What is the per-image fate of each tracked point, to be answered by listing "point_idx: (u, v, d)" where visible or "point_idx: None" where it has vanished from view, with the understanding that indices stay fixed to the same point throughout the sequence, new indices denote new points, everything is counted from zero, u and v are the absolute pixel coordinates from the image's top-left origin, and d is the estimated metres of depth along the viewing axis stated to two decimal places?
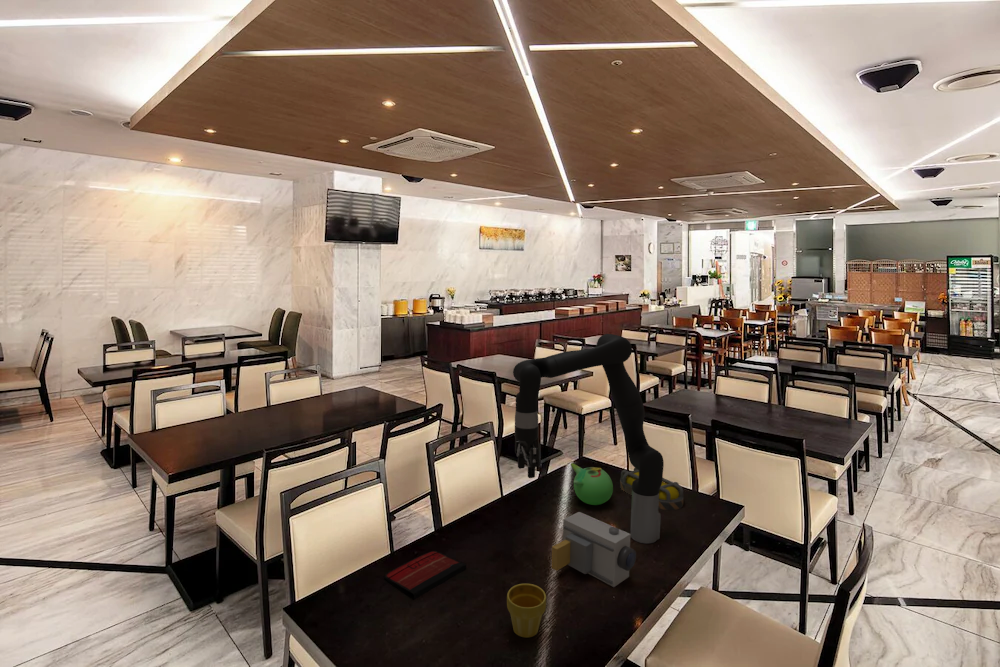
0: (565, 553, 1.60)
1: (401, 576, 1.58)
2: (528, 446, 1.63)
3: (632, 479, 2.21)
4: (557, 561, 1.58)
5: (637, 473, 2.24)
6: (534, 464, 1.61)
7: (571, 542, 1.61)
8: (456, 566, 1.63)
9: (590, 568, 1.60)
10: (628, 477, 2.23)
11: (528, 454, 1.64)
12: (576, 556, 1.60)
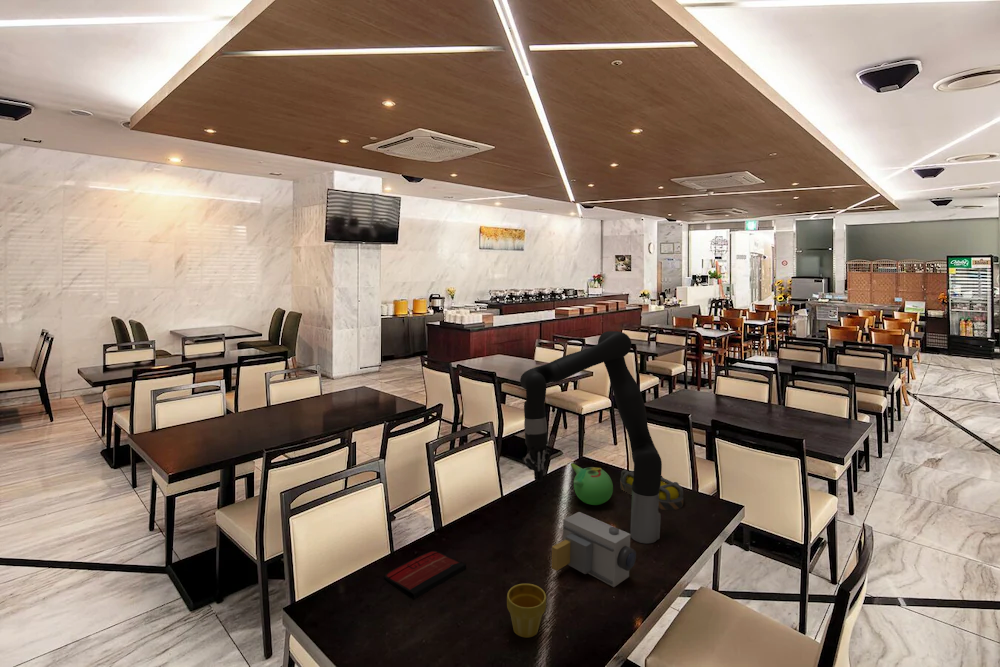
0: (565, 553, 1.60)
1: (401, 576, 1.58)
2: (546, 447, 1.75)
3: (632, 479, 2.21)
4: (557, 561, 1.58)
5: None
6: None
7: (571, 542, 1.61)
8: (456, 566, 1.63)
9: (590, 568, 1.60)
10: (628, 477, 2.23)
11: None
12: (576, 556, 1.60)
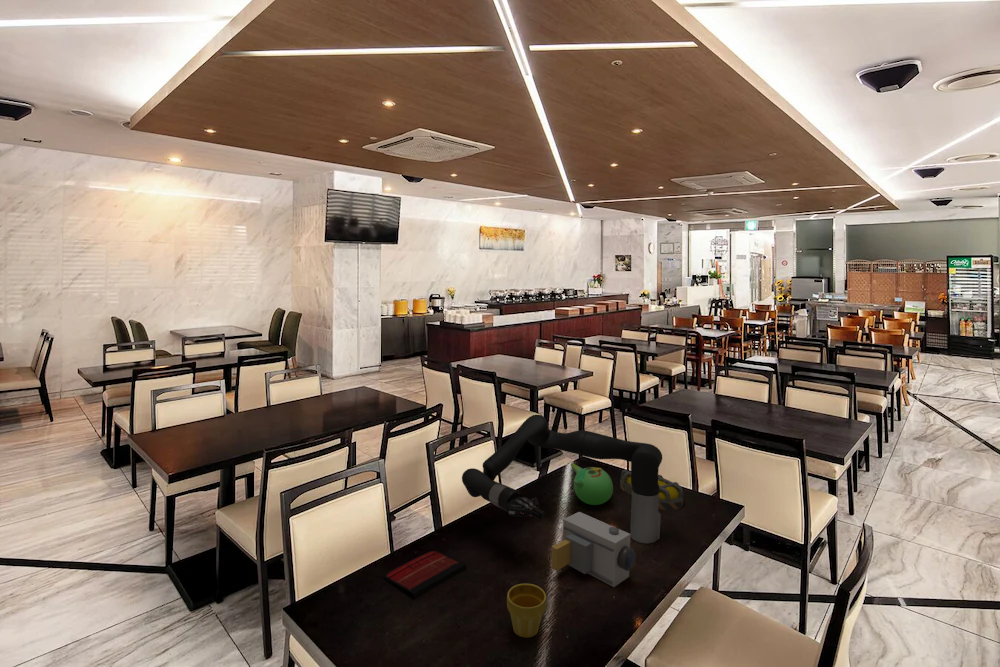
0: (565, 553, 1.60)
1: (401, 576, 1.58)
2: (527, 498, 1.73)
3: None
4: (557, 561, 1.58)
5: None
6: None
7: (571, 542, 1.61)
8: (456, 566, 1.63)
9: (590, 568, 1.60)
10: (628, 477, 2.23)
11: None
12: (576, 556, 1.60)
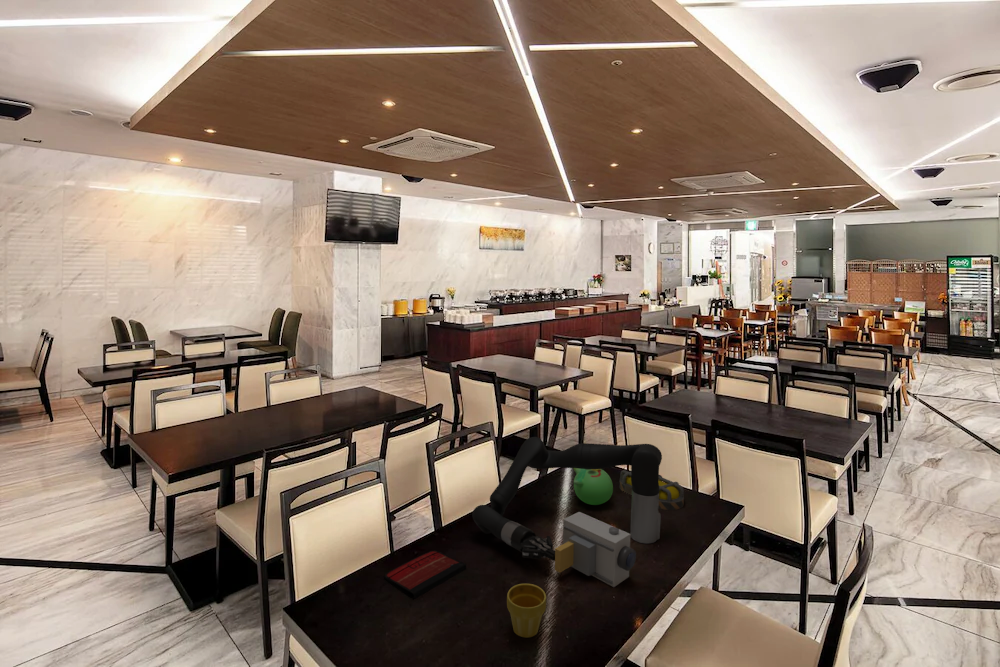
0: (569, 555, 1.59)
1: (401, 576, 1.58)
2: (540, 537, 1.69)
3: None
4: (560, 563, 1.57)
5: None
6: None
7: (574, 544, 1.60)
8: (456, 566, 1.63)
9: (593, 570, 1.59)
10: (628, 477, 2.23)
11: None
12: (579, 558, 1.59)
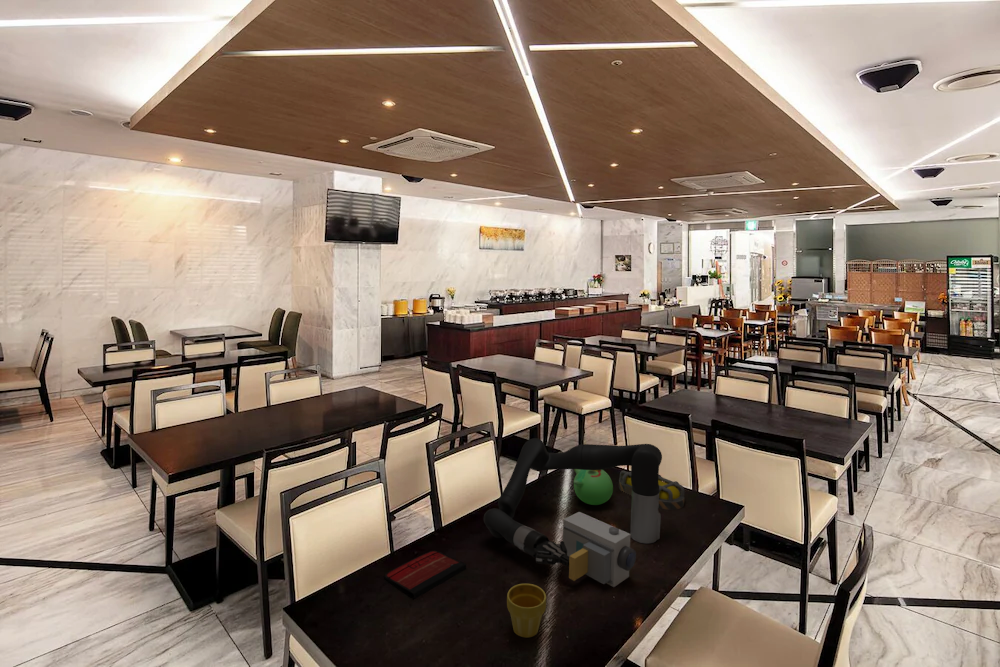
0: (583, 563, 1.55)
1: (401, 576, 1.58)
2: (554, 542, 1.65)
3: None
4: (575, 571, 1.53)
5: None
6: None
7: (589, 551, 1.56)
8: (456, 566, 1.63)
9: (609, 578, 1.55)
10: (627, 478, 2.23)
11: None
12: (594, 566, 1.55)
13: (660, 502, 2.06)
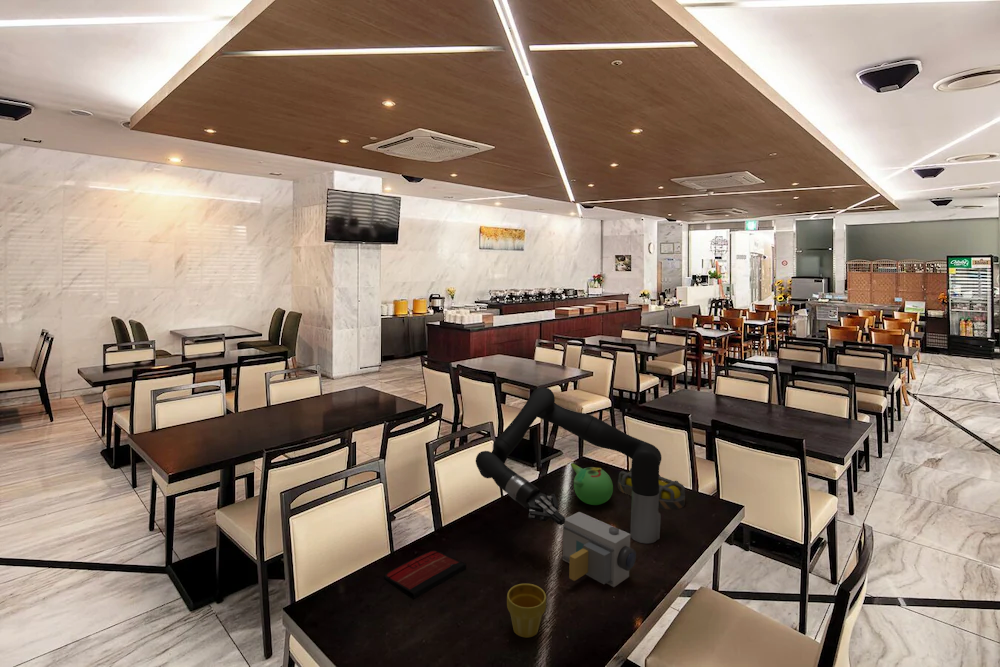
0: (583, 563, 1.55)
1: (401, 576, 1.58)
2: (545, 494, 1.70)
3: None
4: (575, 571, 1.53)
5: None
6: None
7: (589, 551, 1.56)
8: (456, 566, 1.63)
9: (609, 578, 1.55)
10: (627, 478, 2.22)
11: None
12: (594, 566, 1.55)
13: (662, 502, 2.06)
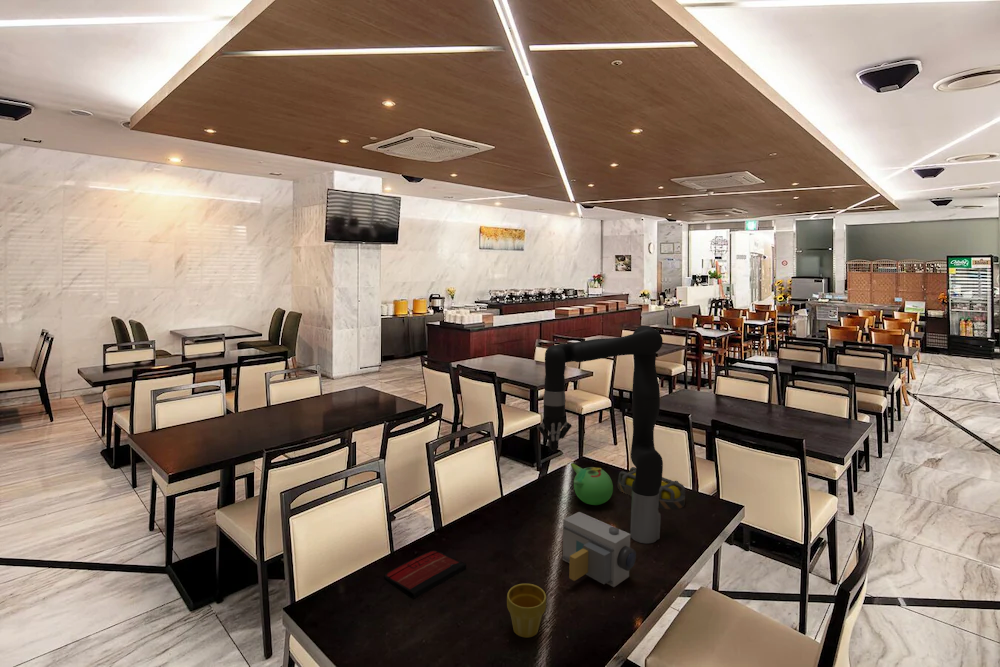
0: (583, 563, 1.55)
1: (401, 576, 1.59)
2: (565, 420, 1.82)
3: (632, 480, 2.20)
4: (575, 571, 1.53)
5: (635, 474, 2.23)
6: None
7: (589, 551, 1.56)
8: (456, 566, 1.63)
9: (609, 578, 1.55)
10: (627, 478, 2.22)
11: None
12: (594, 566, 1.55)
13: (662, 502, 2.06)
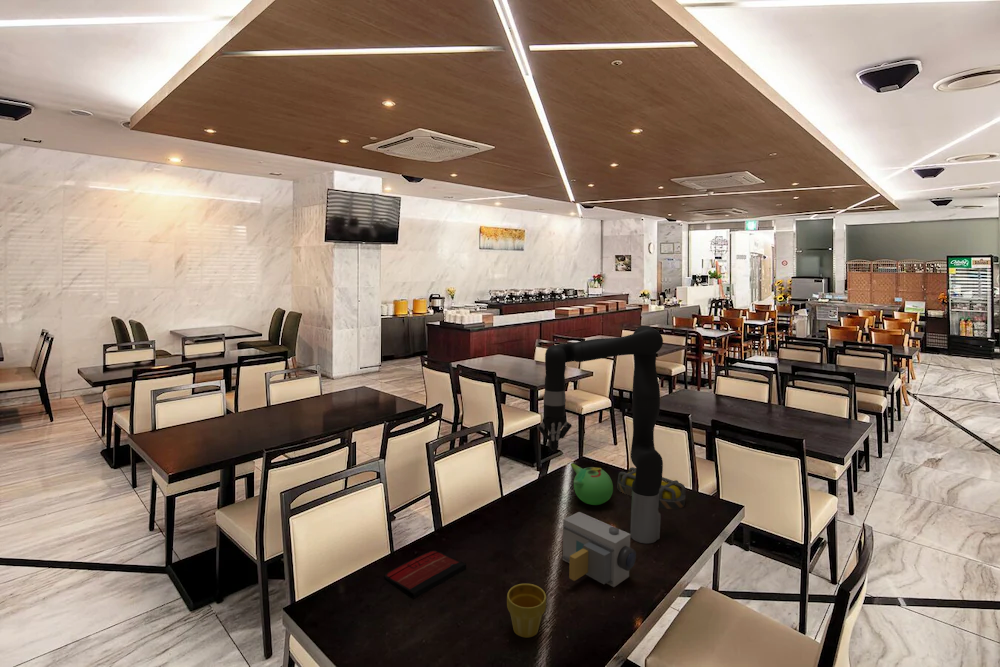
0: (583, 563, 1.55)
1: (401, 576, 1.59)
2: (565, 420, 1.82)
3: (632, 480, 2.20)
4: (575, 571, 1.53)
5: (635, 474, 2.23)
6: None
7: (589, 551, 1.56)
8: (456, 566, 1.63)
9: (609, 578, 1.55)
10: (627, 479, 2.22)
11: None
12: (594, 566, 1.55)
13: (663, 502, 2.06)
